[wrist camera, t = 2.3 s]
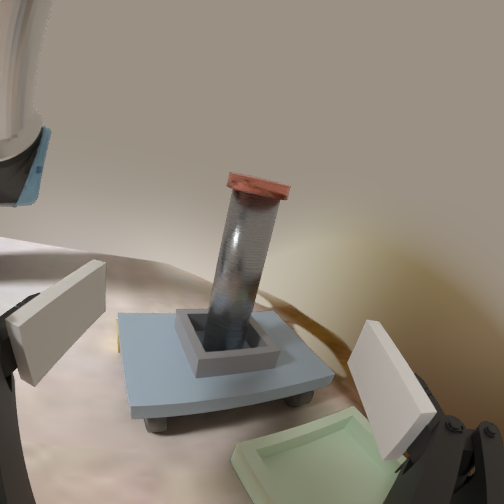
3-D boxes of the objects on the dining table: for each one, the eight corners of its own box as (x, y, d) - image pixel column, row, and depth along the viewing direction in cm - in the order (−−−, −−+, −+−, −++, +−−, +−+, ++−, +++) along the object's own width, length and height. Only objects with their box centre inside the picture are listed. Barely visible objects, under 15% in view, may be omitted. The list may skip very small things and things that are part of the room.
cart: (116, 336, 30) (117, 282, 28) (254, 331, 38) (267, 285, 36) (134, 443, 17) (129, 386, 15) (317, 408, 26) (343, 357, 24)
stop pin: (190, 334, 26) (220, 170, 22) (235, 332, 28) (271, 180, 24) (205, 366, 22) (244, 177, 18) (255, 361, 25) (302, 190, 20)
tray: (229, 461, 18) (236, 442, 17) (340, 425, 24) (353, 405, 23) (305, 577, 8) (324, 571, 8) (414, 502, 14) (435, 485, 13)
